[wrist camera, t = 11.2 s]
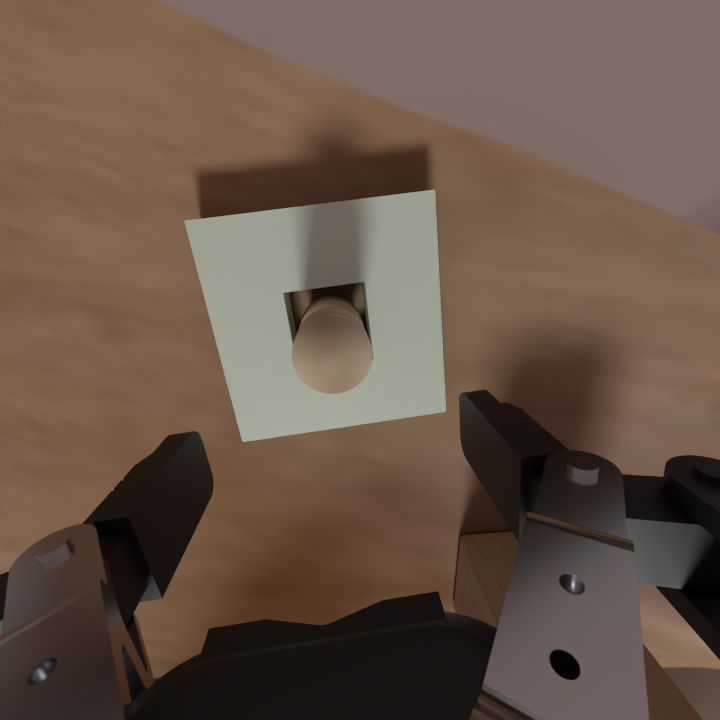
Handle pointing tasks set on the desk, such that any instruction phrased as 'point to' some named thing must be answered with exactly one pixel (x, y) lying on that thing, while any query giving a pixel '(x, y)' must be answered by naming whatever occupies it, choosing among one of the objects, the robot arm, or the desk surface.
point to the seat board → (317, 270)
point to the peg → (331, 346)
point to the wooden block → (486, 599)
